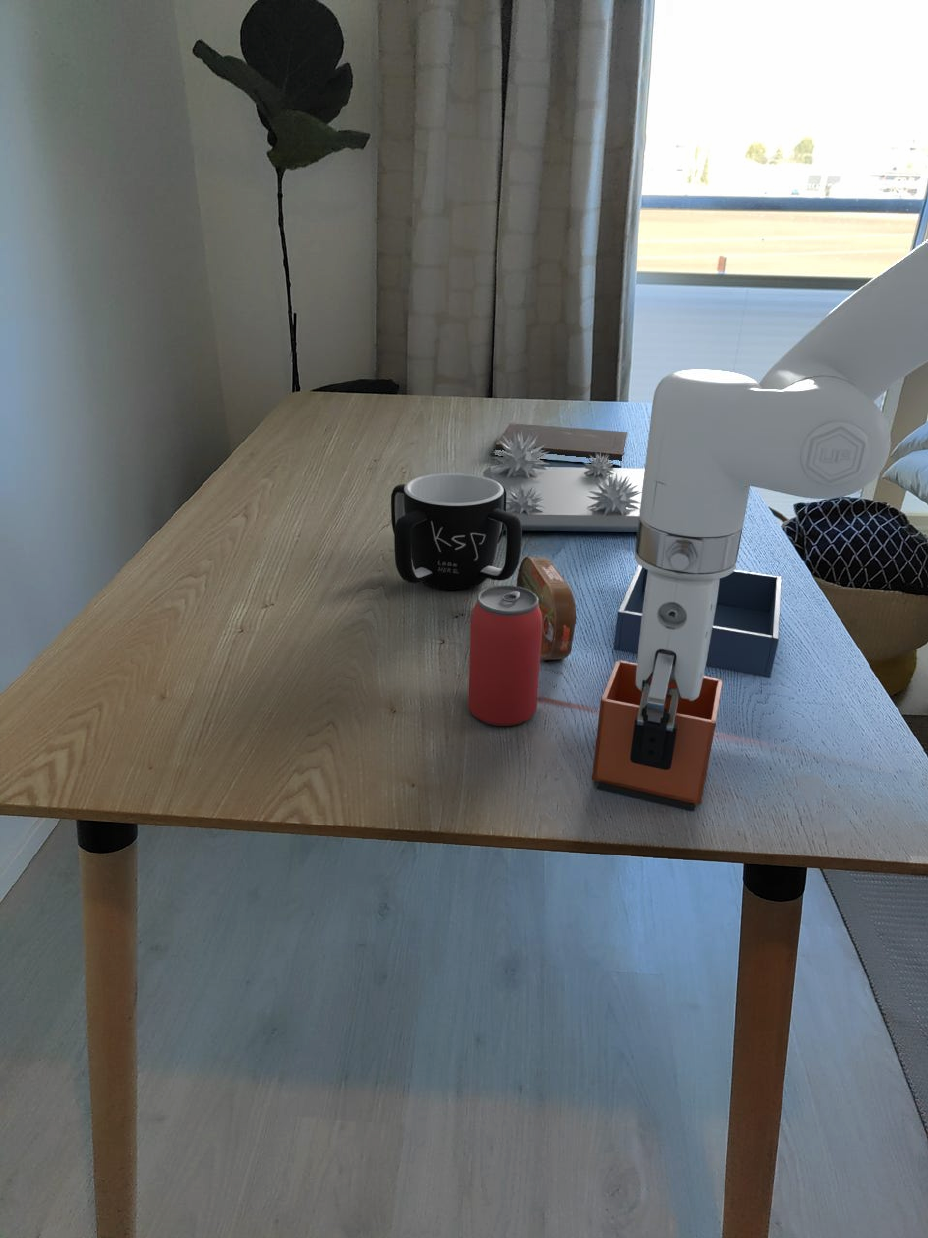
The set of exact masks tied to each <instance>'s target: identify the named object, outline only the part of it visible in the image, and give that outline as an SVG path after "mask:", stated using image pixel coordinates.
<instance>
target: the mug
mask: <svg viewBox="0 0 928 1238" xmlns="http://www.w3.org/2000/svg"><path fill="white" fill-rule="evenodd" d="M390 517H391V527H392V533H393V543H394V545H393V546H394V548H393V549H394V561H395V567H396V570H397V572H398V574H399V576H400V577H401V578H402V580H403V581H405V582H408V583H411V584H419V583H421V582H422V583H424V584H426V585H428V586H430V587H432V588H435V589H436V588H437V589H441V590H450V591H451V590H453V591H456V590H466V589H470V588H474V587H476V586H479V585H481V584H483V583H484V582H485V581H487V579H489V580H493V581H499V582H500V581H505V580H509V578H511V577H512V576H513V575H514V574H515V573H516V570H517V568H518V566H519V563H520V560H521V554H522V537H523V536H522V535H523V530H522V526H521V522H520V520H519V518H518V517H517V516H516V515H514V514H511V513H509V512H506V490H505V487H504V486H503V485H501V484H499V483H498V482H496V481H494V480H492V479H489V478H486V477H484V476H483V475H479V474H472V473H465V472H440V473H431V474H427V475H422V476H419V477H416V478H413V479H412V480H409V481H408V482H407V483H401V484H398V485H396V486H395V487H394V488H393V489H392V492H391V495H390ZM505 526H506V530H504V527H505ZM504 531H505V532H506V533H505V535H506V538H505V539H506V540H505V557H504V563H503V565H502V568H499V567H496V566H494V562H495V559H496V554H497V549H498V545H499V543H500V542H501V540H502V537H503V534H504Z"/></svg>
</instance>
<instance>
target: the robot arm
mask: <svg viewBox="0 0 928 1238" xmlns="http://www.w3.org/2000/svg"><path fill="white" fill-rule="evenodd" d="M926 363H928V239H926V240H925V241H924V242H922V243H921V244H919V245H918V246H916V247H915V248H914V249H912V250H911V251H910V252H909V253H907V254H906V255H905V256H904V257H902V258H901V259H899V260H898V261H897V262H895V263H894V264H893V265H891V266H889V267H888V268H887V269H885V270H884V271H882V272H881V273H879V274H878V275H877V276H875V277H874V278H872V279H870V280H869V281H867V283H865V284H864V285H862V286H861V287H859V289H857V290H856V291H854V292H853V293H852V294H851V295H850V296H848V297H847V298H845V299H844V300H842V302H841V303H839V304H838V305H837V306H836V307H835V308H834V309H832V310H831V311H830V312H829V313H828V314H827V315H826V316H824V317H823V318H822V319H821V320H820V321H819V322H818V323H817V324H816V325H815V326H813V328H811V329H810V331H809V332H807V333H806V334H805V335H804V336H803V337H802V338H801V339H800V340H799V341H798V342H797V343H795V344H794V346H793V347H792V348H790V349H789V350H788V351H787V352H786V353H785V354H784V355H782V357H781V358H780V359H779V360H778V361H777V362H776V363H774V364H773V366H772V367H771V368H769V370H768V371H767V372H766V373H765V375H764V376H763V377H762V378H761V380H760V382H759V383H758V382H757V381H756V380H755V379H753V378H750V377H749V376H747V375H743V374H739V373H735V372H730V371H723V370H715V369H714V370H713V369H687V370H680V371H676V372H672V373H670V374H668V375H666V376H664V377H663V378H662V379H661V380H660V381H659V383H658V384H657V386H656V388H655V390H654V393H653V399H652V403H651V404H652V405H651V413H650V422H649V428H648V429H649V430H648V439H647V447H646V455H645V464H644V469H645V471H644V479H643V488H642V496H641V505H640V512H639V521H638V530H637V532H636V537H635V548H634V553H633V555H634V560H635V561H636V563H637V564H639V565H641V566H642V567H643V568H645V569H647V570H648V574H647V581H646V588H645V595H644V603H643V611H642V619H641V628H640V637H639V646H638V654H637V659H636V663H637V669H636V686H637V687H638V689H639V690H640V691H643V693H642V698H641V703H640V708H639V713H638V717H636V719H635V725H634V732H633V740H632V747H631V755H630V760H631V761H632V762H633V763H636V764H641V765H645V766H650V767H655V768H659V769H664V770H668V769H670V768H671V764H672V758H673V751H674V745H675V739H676V733H677V726H678V725H674V723H675V717H676V712H677V707H678V701H679V698H680V696H681V698H685V699H689V701H693V700H695V699H697V698H698V697H699V694H700V690H701V685H702V681H703V676H705V671H706V667H707V666H706V661H707V656H708V650H709V645H710V639H711V633H712V628H713V622H714V616H715V610H716V604H717V597H718V590H719V581H720V578H723V577H726V576H728V575H729V574H731V573H733V571H734V570H736V567H737V561H738V556H739V550H740V544H741V540H742V539H741V538H742V533H743V527H744V524H745V519H746V512H747V507H748V501H749V496H750V489H751V487H754V488H759V489H763V490H764V489H765V490H768V491H772V492H776V493H780V494H786V495H789V496H794V497H800V498H804V499H814V500H832V499H839V498H844V497H848V496H850V495H852V494H855V493H857V492H859V491H861V490H863V489H865V488H866V487H867V486H869V484H871V483H872V482H873V481H875V479H876V478H877V477H878V476H879V475H880V473H881V472H882V471H883V469H884V467H885V466H886V464H887V462H888V460H889V459H888V458H889V456H890V452H891V447H892V437H891V429H890V427H889V423H888V421H887V418H886V416H885V414H884V413H883V411H882V410H881V409H880V407H879V406H878V405H877V404H876V403H875V401H876V400H877V399H879V398H880V397H881V396H882V395H883V394H884V393H886V392H887V391H888V390H889V389H891V388H892V387H893V386H894V385H895V384H897V383H898V382H899V381H901V380H903V378H905V377H907V376H908V375H909V374H911V373H912V372H914V371H916V370H917V369H918V368H920V367H921V366H923V365H924V364H926ZM651 677H652V682H651ZM650 682H651V684H650ZM670 682H674V683H676V688H675V689H672V688H668V687H669V683H670ZM666 697H667V698H672V699H671V704H670V709H669V713H668V709H667V708H665V704H666Z"/></svg>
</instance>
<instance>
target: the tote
mask: <svg viewBox="0 0 928 1238" xmlns="http://www.w3.org/2000/svg"><path fill="white" fill-rule="evenodd" d="M637 564H638V563H637ZM647 574H648V570H647V569H645V568H643V567H642V566H641V565H639V564H638V565H637V566H636V568H635V572H634V574H633V576H632V579H631V580H630V583H629V585H628V588H627V590H626V592H625V594H624V597H623V599H622V601H621V604H620V606H619V608H618V611H617V614H616V615H617V616H616V624H615V631H614V632H615V633H614V641H613V650H614V651H619V652H620V651H621V652H624V653H625V652H626V653H630V654H636V655H638V646H639V637H640V628H641V619H642V611H643V603H644V595H645V588H646V581H647ZM782 587H783V576H779V575H774V574H773V575H772V574H765V573H759V572H752V571H747V570H740V569H735V570H734V571H733V573H731V574H729V575H728V576H726V577H723V578H720V581H719V590H718V597H717V604H716V610H715V616H714V622H713V628H712V633H711V639H710V645H709V650H708V656H707V661H706V666H705V667H708V668H713V669H719V670H724V671H730V672H735V673H741V674H745V675H752V676H757V677H763V678H769V679H771V678H772V673H773V667H774V664H775V660H776V655H777V648H778V645H779V640H780V626H781V625H780V623H781V606H782V589H783V588H782Z"/></svg>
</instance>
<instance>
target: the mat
mask: <svg viewBox="0 0 928 1238" xmlns="http://www.w3.org/2000/svg"><path fill="white" fill-rule="evenodd" d="M596 788H597V790H600V791H604V792H609V793H614V794H618V795H622V796H626V797H631V798H635V799H639V800H644V801H649V802H652V803H656V804H661V805H665V806H670V807H675V808H678V809H682V810H687V811H691V812H695V809H696V804H694V803H690V802H686V801H681V800H677V799H673V798H668V797H664V796H659V795H655V794H651V793H646V792H642V791H638V790H633V789H629V788H625V787H620V786H616V785H611V784H607V783H603V782H598V783H597V787H596Z"/></svg>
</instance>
